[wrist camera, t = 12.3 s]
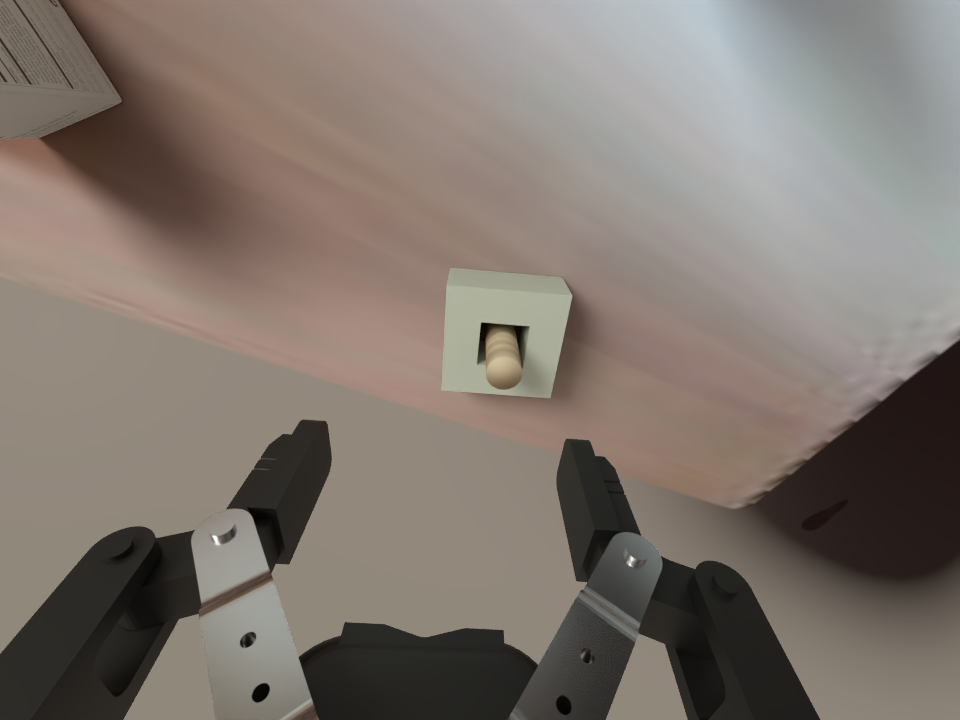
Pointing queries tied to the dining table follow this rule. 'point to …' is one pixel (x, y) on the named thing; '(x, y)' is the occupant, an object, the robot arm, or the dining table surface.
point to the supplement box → (46, 71)
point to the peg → (502, 356)
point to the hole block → (503, 302)
